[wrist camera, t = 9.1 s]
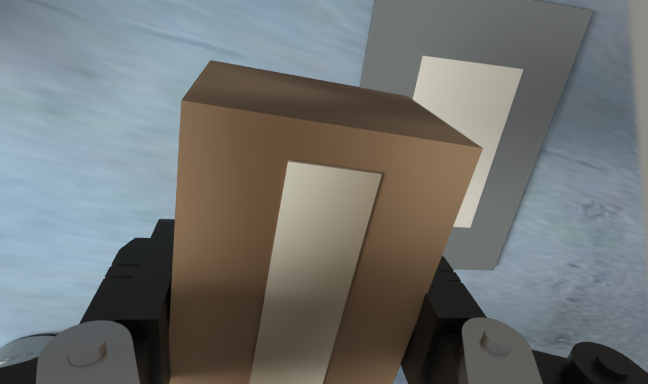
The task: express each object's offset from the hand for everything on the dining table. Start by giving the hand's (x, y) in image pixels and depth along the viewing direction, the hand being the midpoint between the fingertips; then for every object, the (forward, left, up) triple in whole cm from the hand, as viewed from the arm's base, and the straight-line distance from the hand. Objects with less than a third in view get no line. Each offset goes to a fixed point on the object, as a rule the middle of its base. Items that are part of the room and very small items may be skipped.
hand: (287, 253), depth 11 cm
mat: (-2, -13, -17) cm, 21 cm away
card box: (0, 0, -1) cm, 1 cm away
